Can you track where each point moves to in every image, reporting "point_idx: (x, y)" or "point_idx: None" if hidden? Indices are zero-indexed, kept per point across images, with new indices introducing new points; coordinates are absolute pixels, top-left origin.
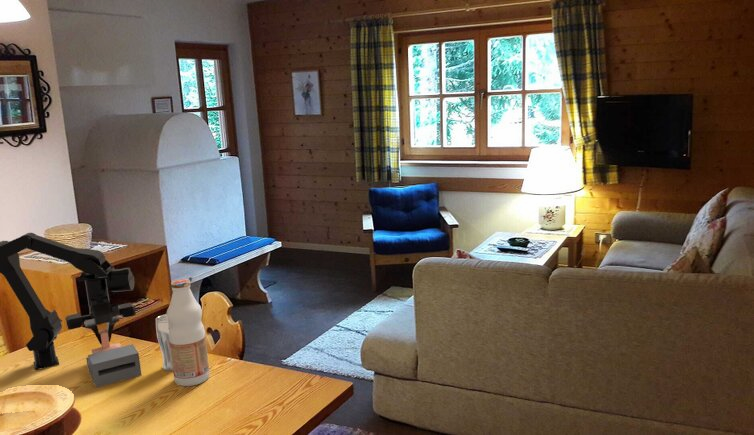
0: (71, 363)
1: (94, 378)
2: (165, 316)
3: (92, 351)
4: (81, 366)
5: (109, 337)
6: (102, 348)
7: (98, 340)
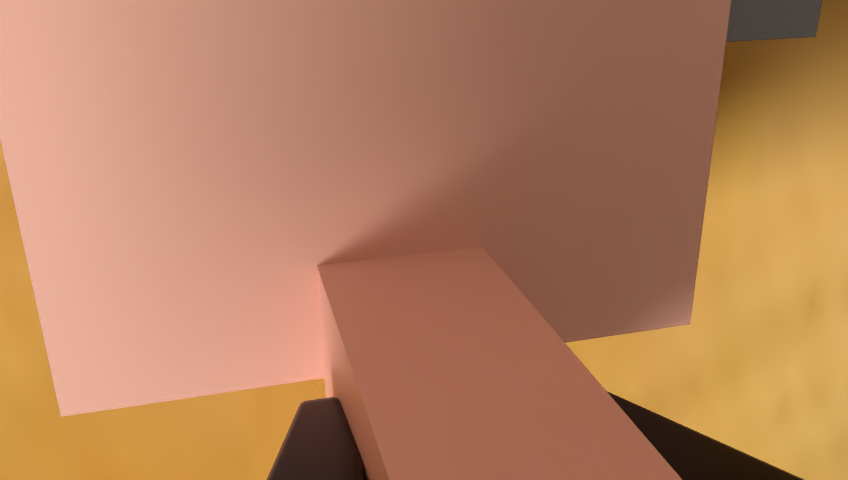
0: (808, 331)
1: None
2: None
3: (703, 185)
4: (745, 132)
5: (324, 463)
6: (489, 248)
7: (635, 405)
